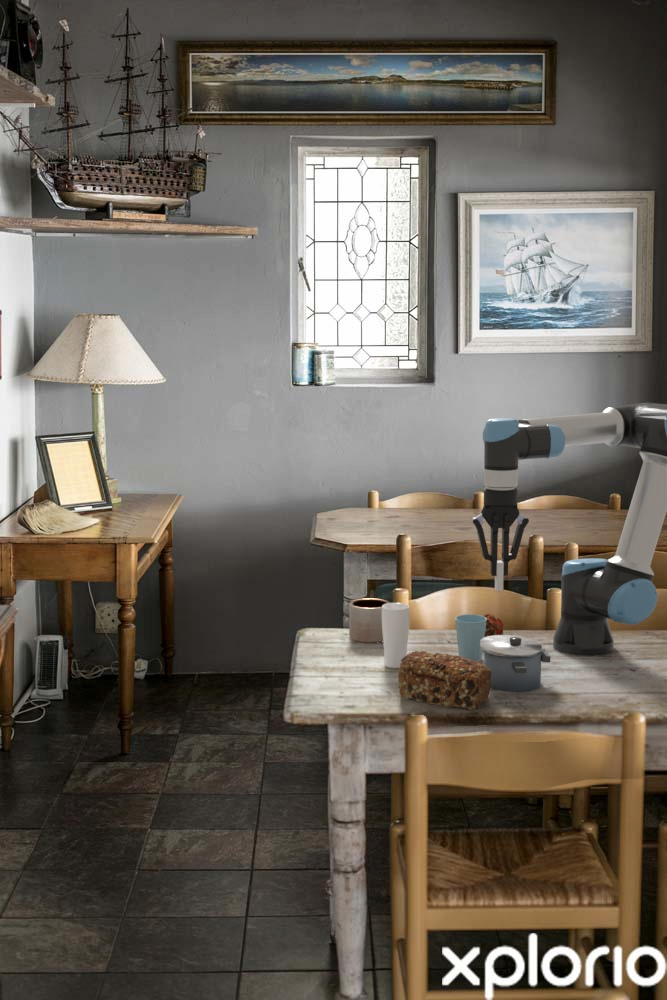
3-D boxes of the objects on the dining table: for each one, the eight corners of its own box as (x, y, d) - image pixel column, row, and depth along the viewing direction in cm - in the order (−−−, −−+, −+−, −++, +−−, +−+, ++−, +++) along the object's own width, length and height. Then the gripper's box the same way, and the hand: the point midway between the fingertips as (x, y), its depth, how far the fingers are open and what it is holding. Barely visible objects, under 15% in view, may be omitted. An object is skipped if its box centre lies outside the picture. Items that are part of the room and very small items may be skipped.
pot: (537, 668, 270) (538, 636, 268) (556, 698, 249) (557, 663, 248) (477, 669, 270) (477, 637, 268) (491, 699, 249) (491, 664, 247)
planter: (391, 644, 291) (391, 608, 289) (349, 644, 291) (349, 608, 289) (389, 632, 301) (389, 597, 300) (349, 632, 302) (349, 598, 300)
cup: (454, 662, 275) (454, 621, 273) (455, 653, 282) (455, 613, 280) (485, 664, 274) (486, 622, 272) (485, 654, 281) (486, 614, 279)
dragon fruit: (490, 657, 284) (479, 650, 296) (516, 636, 285) (503, 630, 297) (470, 631, 284) (459, 625, 295) (496, 610, 284) (484, 605, 296)
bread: (396, 699, 249) (396, 656, 247) (416, 685, 258) (416, 644, 257) (475, 713, 240) (476, 668, 239) (492, 698, 250) (493, 655, 248)
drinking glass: (407, 671, 269) (407, 610, 266) (379, 669, 270) (379, 608, 268) (411, 662, 275) (411, 603, 273) (383, 660, 276) (383, 601, 274)
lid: (536, 640, 265) (537, 631, 265) (549, 658, 251) (549, 648, 251) (475, 639, 265) (476, 629, 264) (484, 656, 251) (485, 646, 250)
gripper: (526, 484, 256) (524, 585, 259) (469, 485, 255) (468, 585, 259) (532, 489, 248) (530, 593, 252) (474, 490, 248) (472, 593, 252)
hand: (498, 589), depth 256 cm, fingers closed
